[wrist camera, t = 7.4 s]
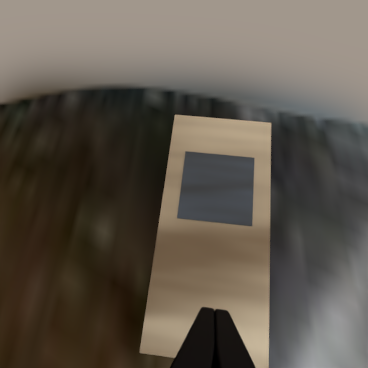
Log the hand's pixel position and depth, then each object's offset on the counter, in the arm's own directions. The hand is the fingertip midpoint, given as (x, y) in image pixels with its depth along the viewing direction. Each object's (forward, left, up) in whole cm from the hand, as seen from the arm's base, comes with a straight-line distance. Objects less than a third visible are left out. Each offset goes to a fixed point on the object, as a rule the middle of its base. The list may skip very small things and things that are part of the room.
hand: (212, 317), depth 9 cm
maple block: (-2, +1, -5) cm, 6 cm away
